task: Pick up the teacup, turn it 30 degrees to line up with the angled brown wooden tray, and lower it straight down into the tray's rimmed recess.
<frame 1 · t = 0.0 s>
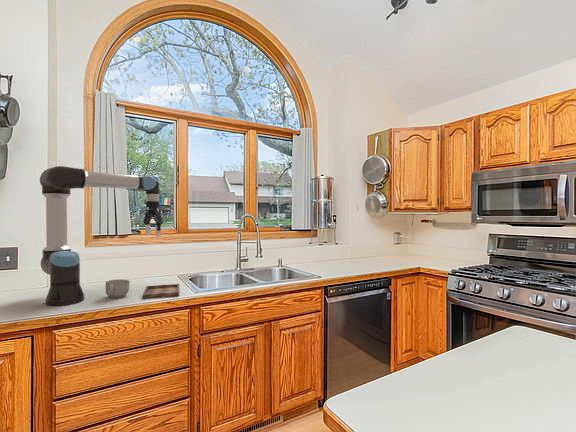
hand: (152, 235, 200), 28 cm above the counter, tool pointing down, fingers open, 13 cm apart
brown wooden tray: (162, 292, 172), on the counter
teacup: (116, 297, 163), on the counter
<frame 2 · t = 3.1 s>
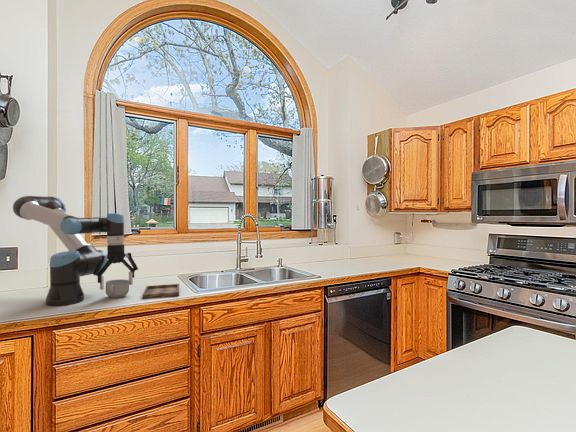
hand: (116, 286, 162), 5 cm above the counter, tool pointing down, fingers open, 13 cm apart
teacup: (116, 298, 163), on the counter, touching gripper
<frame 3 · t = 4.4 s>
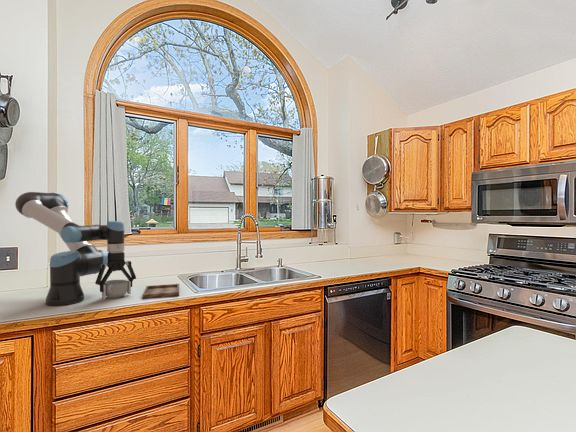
hand: (116, 296, 163), 1 cm above the counter, tool pointing down, fingers closed on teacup, 11 cm apart
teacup: (114, 298, 162), on the counter, touching gripper
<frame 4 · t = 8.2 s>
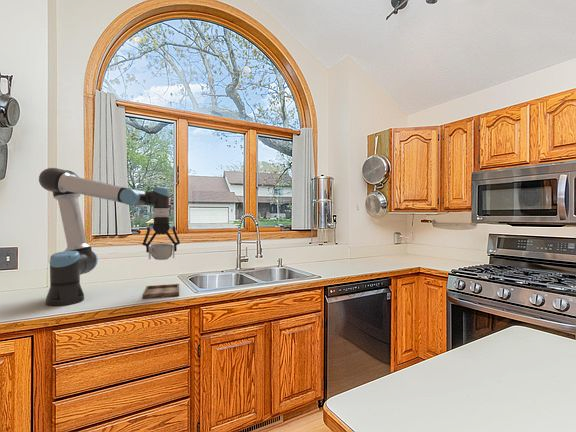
hand: (161, 258, 172), 18 cm above the counter, tool pointing down, fingers closed on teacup, 11 cm apart
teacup: (159, 260, 172), point 17 cm above the counter, touching gripper
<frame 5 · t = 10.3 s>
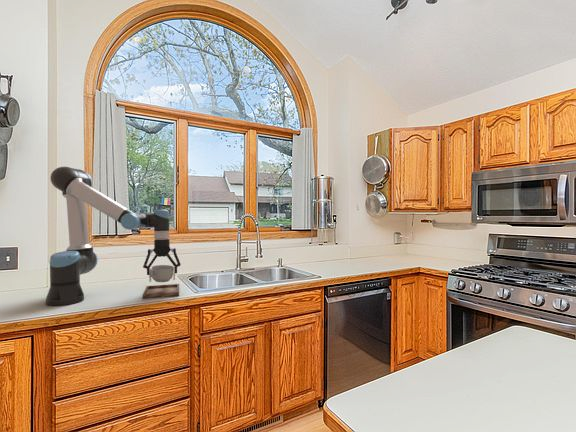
hand: (162, 280, 172), 6 cm above the counter, tool pointing down, fingers closed on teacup, 11 cm apart
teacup: (160, 282, 172), point 6 cm above the counter, touching gripper
when the fingers open (3 cm above the counter, at t = 12.1 s): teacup drops 2 cm, resting on brown wooden tray.
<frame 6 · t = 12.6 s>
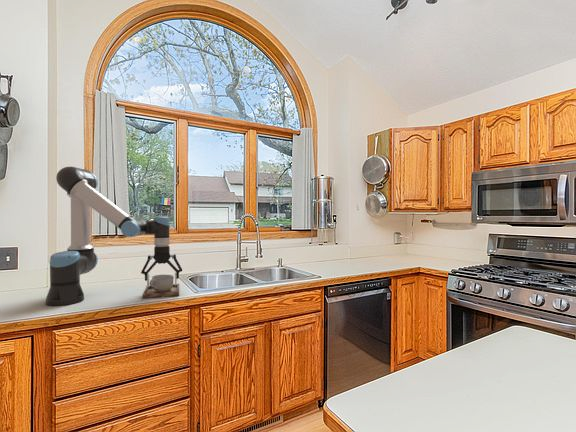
hand: (162, 286, 172), 4 cm above the counter, tool pointing down, fingers open, 13 cm apart
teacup: (160, 292, 172), resting on brown wooden tray
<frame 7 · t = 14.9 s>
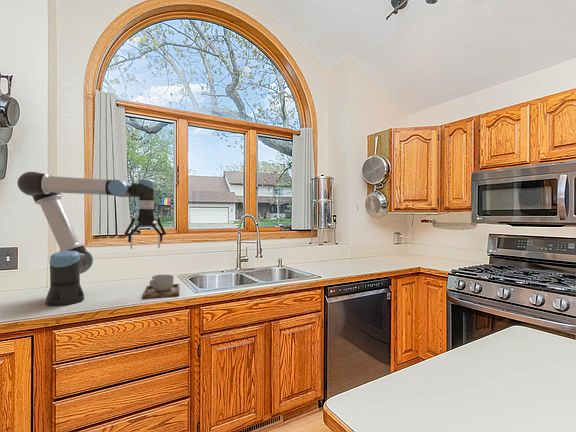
hand: (145, 248, 175), 23 cm above the counter, tool pointing down, fingers open, 13 cm apart
nothing on the counter moved.
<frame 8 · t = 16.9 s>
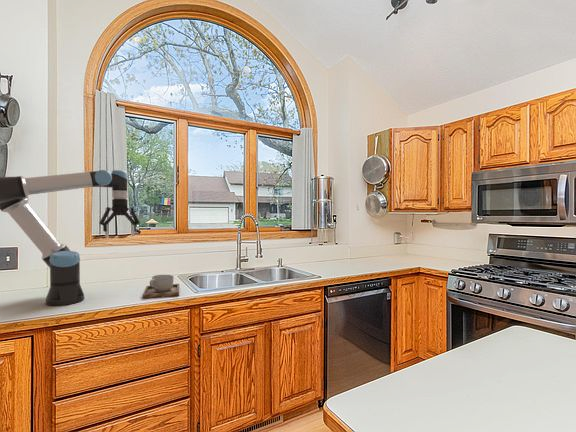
hand: (120, 237, 181), 29 cm above the counter, tool pointing down, fingers open, 13 cm apart
nothing on the counter moved.
at the end: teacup 0.9 cm off-centre on the brown wooden tray, point 0.4 cm above the brown wooden tray's base; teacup tilted 0°; the gripper is holding nothing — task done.
